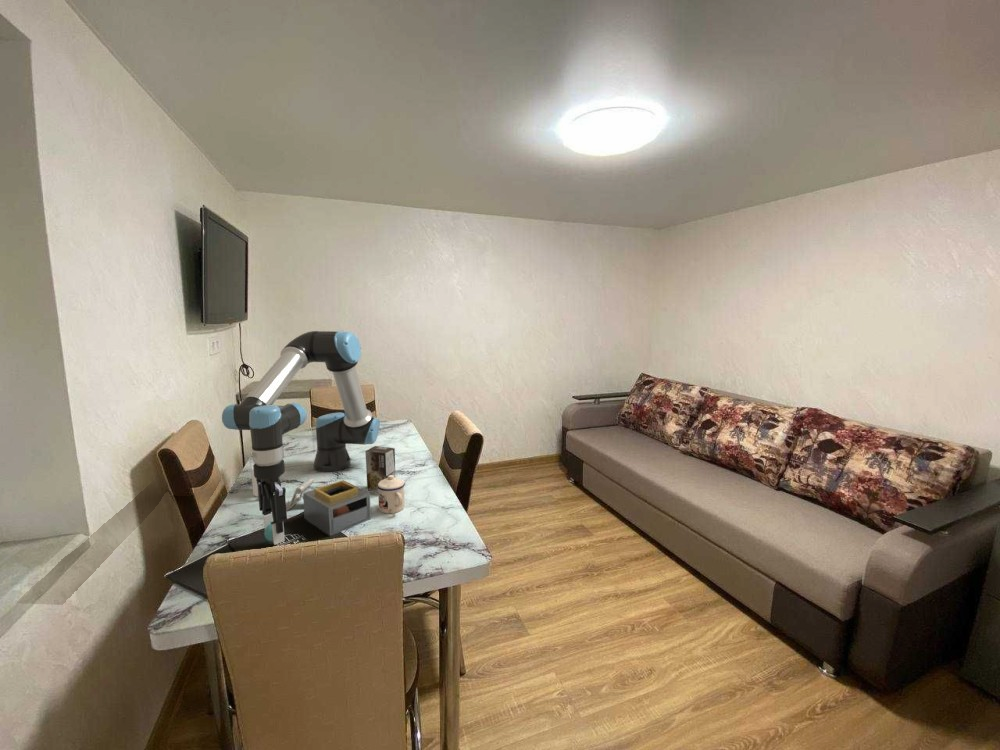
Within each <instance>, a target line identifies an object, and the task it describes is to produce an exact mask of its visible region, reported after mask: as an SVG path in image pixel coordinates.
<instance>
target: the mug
mask: <svg viewBox="0 0 1000 750" xmlns="http://www.w3.org/2000/svg"><path fill="white" fill-rule="evenodd" d="M250 469H251V484H252V495H253V496H254V497H258V485H257V481H256V478H255V477H254V468H253V465H252V466H251V468H250Z"/></svg>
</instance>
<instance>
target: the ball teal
mask: <svg viewBox="0 0 1000 750" xmlns="http://www.w3.org/2000/svg"><path fill="white" fill-rule="evenodd" d="M263 533H264V537H265V538H264V539H266V540H267V541H269V542H273V530H272V524H270V525H268V526H267V527H266V529H265V528H264V532H263Z"/></svg>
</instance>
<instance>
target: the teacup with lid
mask: <svg viewBox="0 0 1000 750" xmlns="http://www.w3.org/2000/svg"><path fill="white" fill-rule="evenodd" d="M405 484H406V482H405V481H404V480H403V479H402V478H398V477H396V478H395V477H394V476H393V475H389V476H388V478H387V479H384V480H382V481H380V482H379V483H378V486H377V487H378V493H377V494H378V497H377V498H378V511H380V512H381V513H382V514H395V513H398V512H401V511H402V510H404V508H405V504H406V503H405Z"/></svg>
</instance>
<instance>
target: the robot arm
mask: <svg viewBox="0 0 1000 750" xmlns="http://www.w3.org/2000/svg"><path fill="white" fill-rule="evenodd" d="M361 349H362V347H361V342H360V340H359V338H358V337H357V335H356V334H355V333H353V332H351V331H344V330H338V331H329V330H328V331H326V330H325V331H324V330H323V331H322V330H321V331H320V330H319V331H318V330H312V331H307V332H304V333H302V334H301V335H298V336H296V337H295V338H294V339H292V340H291V341H290V342H288V343H287V344H286V345H285V346H284V347H283V348H282V349H281V351H280V357H279V358H278V359H277V360H276V361H275V362H274V363H273V364H272V366H271V367H270V368H269V369H268V371H267V372H265V374H264V375H263V376H262V378H261V379H260V380H259V381H258V382H257V383H256V384H255V386H254V387H253V388H252V389H251V390H250V391H249V393H248V394H247V395H246V396H245V397H244V399H243V400H242V401H241V402H240V403H239V404H237V403H235V404H229V405H227V406H226V407H225V408H224V409H223V411H222V413H221V421H222V424H223V426H224V427H225V428H227V429H229V430H235V431H236V430H237V431H250V439H251V440H250V441H251V452H252V453H251V454H250V458H252V462H253V465H252V466H253V468H254V477H255V478H256V481H257V485H258V496H257V497H258V506H259V511H260V512H261V514H262V515H263V524H264V526H263V528H264V530H265V529H266V527H267V526H268V525H270V524H272V530H273V541H272V542H273V545H274V546H275V545H278V544H281V543H283V542H285V541H286V540H285V527H284V522H285V521H287V520H288V514H287V512H288V511H286V502H287V501H286V493H287V492H286V490H287V489H286V487H285V486H283V487H282V481H281V480H280V477H281V476H282V475H283V474H284V473H285V470H286V469H285V468H286V467H285V460H284V458H285V455H284V454H285V452H284V444H283V435H284V434H286V433H288V432H291V431H293V430H295V429H298V428H299V427H300V426H301V425H303V424H304V423H305V422H306V420H307V411H306V409H305V408H304V406H303V405H301V404H299V403H295V402H292V403H286V404H285V405H275V404H274V403H275V402H277V400H278V398H279V397H280V395H281V394H282V393H283V392H284V390H285V389H286V388H287V386H288V385H289V384H290V383H291V381H292V380H293V379H294V378H295V376H296V375H297V373H298V372H299V371H300V370H301V369H305V367H307V365H308V364H311V363H325V367H326V369H327V370H328V371H329V372H331V373H332V375H333V378H334V382H335V385H336V387H337V390H338V394H339V397H340V401H341V404H342V407H343V410H344V412H332V413H327V414H324V415H321V416H319V417H316V420H315V432H316V433H315V434H316V435H315V436H316V447H317V448H316V450H317V451H316V454H315V457H314V459H313V469H314V470H315V471H317V472H321V473H322V472H323V473H330V472H337V471H341V470H345V469H346V468H349V467H350V466H351V464H352V462H351V457H350V455H349V452H348V450H347V444H348V445H363V446H366V445H373V444H375V442H376V441H377V439H378V438H379V437H378V436H379V433H380V425H381V424H380V420H379V419H380V418H378V417H376V416H374V417H373V413H372V412H371V410H370V409H367V405H366V402H365V401H366V400H365V397H364V394H363V391H362V387H361V382H360V379H359V374H358V372H357V365H358V363H359V361H360V360H361V357H362V351H361Z"/></svg>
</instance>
